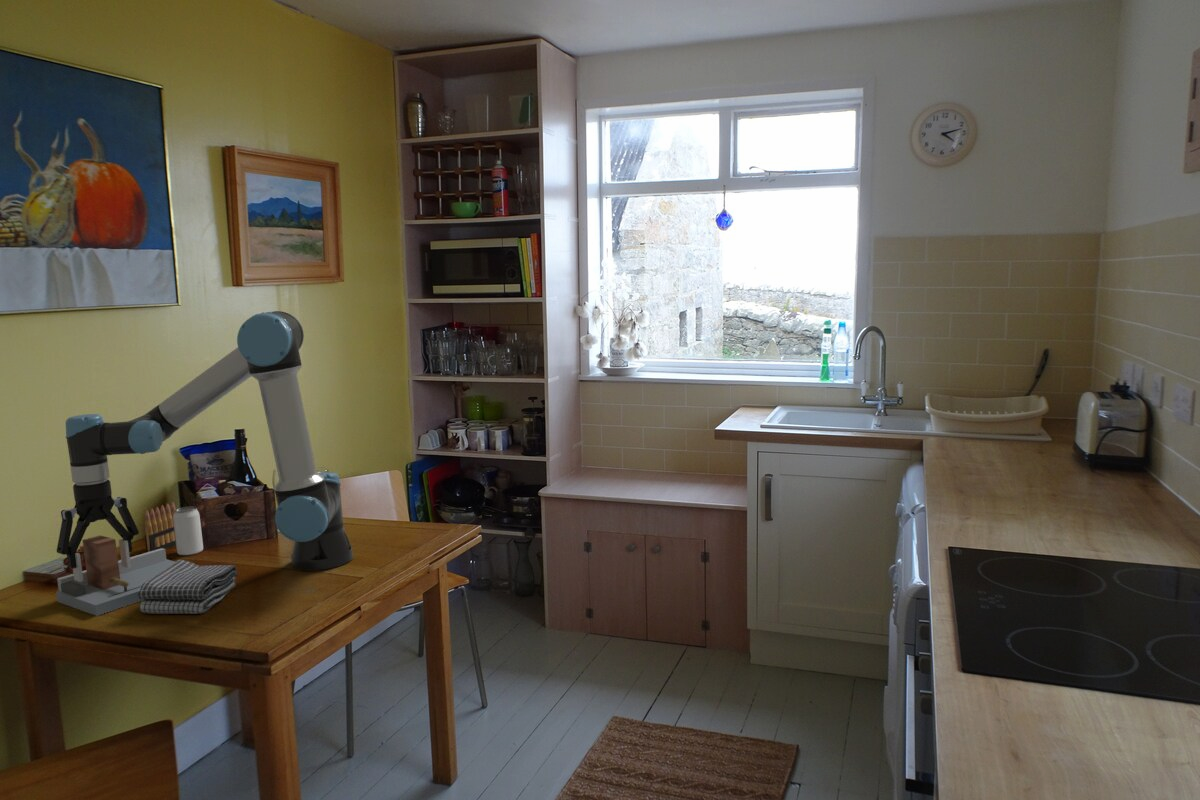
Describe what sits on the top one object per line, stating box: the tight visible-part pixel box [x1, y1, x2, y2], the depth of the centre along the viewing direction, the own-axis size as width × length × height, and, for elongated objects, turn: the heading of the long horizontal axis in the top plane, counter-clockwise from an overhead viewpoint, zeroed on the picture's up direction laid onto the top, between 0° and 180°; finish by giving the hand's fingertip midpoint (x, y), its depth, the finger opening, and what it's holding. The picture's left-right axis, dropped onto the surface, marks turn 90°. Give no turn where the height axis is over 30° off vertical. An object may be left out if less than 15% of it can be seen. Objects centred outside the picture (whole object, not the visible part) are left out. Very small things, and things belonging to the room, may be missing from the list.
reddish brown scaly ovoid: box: [62, 545, 86, 574], centre depth 219 cm, size 8×8×12 cm
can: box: [173, 506, 204, 557], centre depth 235 cm, size 6×6×12 cm
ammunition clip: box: [144, 501, 177, 553], centre depth 240 cm, size 11×2×12 cm, turn 160°
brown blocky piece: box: [82, 535, 129, 591], centre depth 202 cm, size 14×4×11 cm, turn 56°
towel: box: [138, 558, 239, 615], centre depth 198 cm, size 15×18×8 cm
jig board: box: [55, 548, 176, 617], centre depth 207 cm, size 18×26×6 cm
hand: (103, 573), depth 204 cm, fingers open, 10 cm apart
